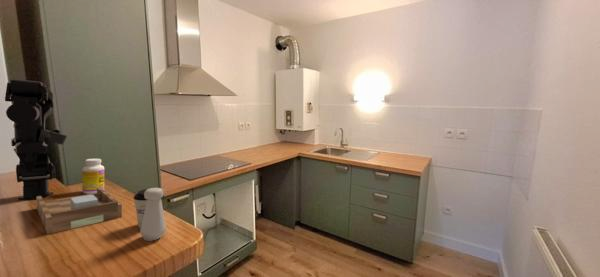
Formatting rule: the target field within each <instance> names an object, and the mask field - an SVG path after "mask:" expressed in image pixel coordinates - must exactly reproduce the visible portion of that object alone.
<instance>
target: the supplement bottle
mask: <svg viewBox="0 0 600 277" xmlns="http://www.w3.org/2000/svg"><path fill="white" fill-rule="evenodd" d="M81 175H82V176H81V179H82V183H81V184H82V186H81V188H82V189H81V190H82V193H83V194H84V195H88V194H94V193H97V188H98V187H101V188H102V189H103V190H104V191H105V166H104V165H102V158H87V159H85V166H83V167H82V169H81Z"/></svg>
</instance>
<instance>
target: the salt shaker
mask: <svg viewBox="0 0 600 277" xmlns="http://www.w3.org/2000/svg"><path fill="white" fill-rule="evenodd" d="M146 189H147V190H146V191H145V192H144V197H145V199H147V204H146V208H145V212H144V216H143V220H142V225H141V228H139V230H140V235H141V237H142V238H143V240H144V241H147V242H154V241H158V240H160V239H161V238H162V237H163V236H164V234H165V231H166V229H167V222H166V218H165V213H164V207H163V202H162V198H163V197H164V189H163V188H160V187H151V188H146ZM159 238H160V239H159ZM157 239H158V240H157ZM153 240H154V241H153Z"/></svg>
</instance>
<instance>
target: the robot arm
mask: <svg viewBox="0 0 600 277" xmlns="http://www.w3.org/2000/svg"><path fill="white" fill-rule="evenodd" d="M54 98H55V97H54V93H53V92H52V91H50V90H49V89H48V88H47V86H46V83H44V82H42V81H35V80H28V79H27V80H26V79H17V78H11V79H10V82H9V81H8V82H7V83H6V90H5V96H4V101H5V102H8V103H9V102H11V103H13V104H11V105H9V106H8V107H7V109H6V111H5V114H6V117H7V118H8V119H9V120H10V121H11V122H13V125H12V126H13V131H14V132H13V133H14V134H13V136H14V137H12V139H11V140H10V141H11V142H10V145H11V147H14V148H13V151H14V153H15V154H16V157H17V158H18V159H19V161H18V164H16V166H15V167H16V168H15V174H16V181H17V183H22V185H23V186H22V195H21V196H18V197H17V198H18V200H36V196H41V197H42V199H44V198H45V197H49V196H50V195H51V196H52V195H53V194H54V191H49V180H50V181H51V180H53V179H56V167H55V166H54V164H53V162H51V161H50V157H49V155H48V154H47V152H49V145H48V144H47V143H45V142H46V141H47V142H52V143H56V144H58V145H62V146H63V145H64V144H65V142H66V140H67V138H68V135H67V134H63V133H60V132H61V130H59V129H55V128H52V129H51V130H48V129H46V119H47V118H49V116H51V115H52V109H54V108H55V99H54Z"/></svg>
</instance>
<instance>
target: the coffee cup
mask: <svg viewBox="0 0 600 277" xmlns="http://www.w3.org/2000/svg"><path fill="white" fill-rule="evenodd" d="M147 189H148V188H146V189H145V188H144V189H141V190H139V191H137V193H135V194H134V196H133V200H134V206H135V213H136V220H137V227H138V228H139V229H141V225H142V220H143V216H144V212H145V208H146V204H147V199H145V197H144V192H145V191H146V190H147Z"/></svg>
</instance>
